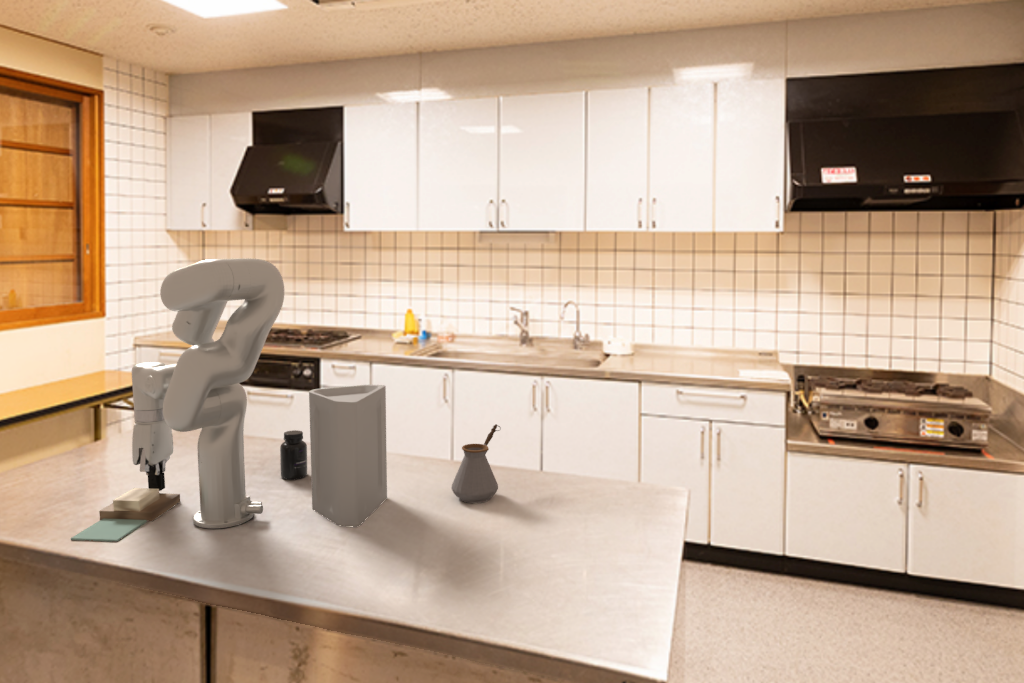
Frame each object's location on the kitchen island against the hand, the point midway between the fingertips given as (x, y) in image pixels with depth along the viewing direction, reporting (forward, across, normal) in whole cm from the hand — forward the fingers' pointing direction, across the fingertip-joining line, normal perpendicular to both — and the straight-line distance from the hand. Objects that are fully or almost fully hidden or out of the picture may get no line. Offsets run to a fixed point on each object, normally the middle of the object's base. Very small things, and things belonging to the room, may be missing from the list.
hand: (156, 489), depth 170 cm
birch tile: (+1, +8, 0) cm, 8 cm away
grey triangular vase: (+3, +1, +46) cm, 46 cm away
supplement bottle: (+3, -21, +26) cm, 33 cm away
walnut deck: (+3, +6, 0) cm, 7 cm away
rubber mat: (+3, +18, 0) cm, 18 cm away
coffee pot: (+3, -14, +77) cm, 78 cm away
